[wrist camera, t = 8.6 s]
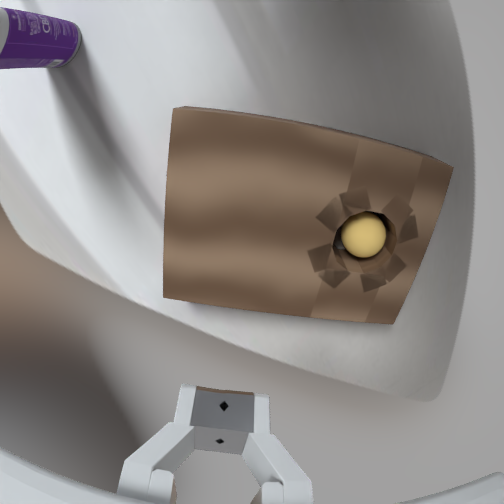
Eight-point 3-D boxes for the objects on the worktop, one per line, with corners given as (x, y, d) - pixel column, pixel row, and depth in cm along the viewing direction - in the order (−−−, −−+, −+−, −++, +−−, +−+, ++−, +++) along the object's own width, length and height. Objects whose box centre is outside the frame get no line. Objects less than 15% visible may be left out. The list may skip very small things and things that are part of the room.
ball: (340, 207, 25) (381, 228, 23) (361, 201, 28) (398, 219, 26) (327, 249, 27) (365, 271, 25) (348, 239, 30) (383, 258, 28)
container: (90, 32, 20) (-33, 12, 7) (63, 75, 22) (-64, 90, 8) (59, 14, 19) (-59, -4, 5) (34, 55, 20) (-87, 64, 7)
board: (185, 106, 24) (172, 108, 20) (431, 156, 25) (453, 167, 21) (172, 273, 31) (163, 297, 28) (381, 300, 32) (393, 324, 29)
